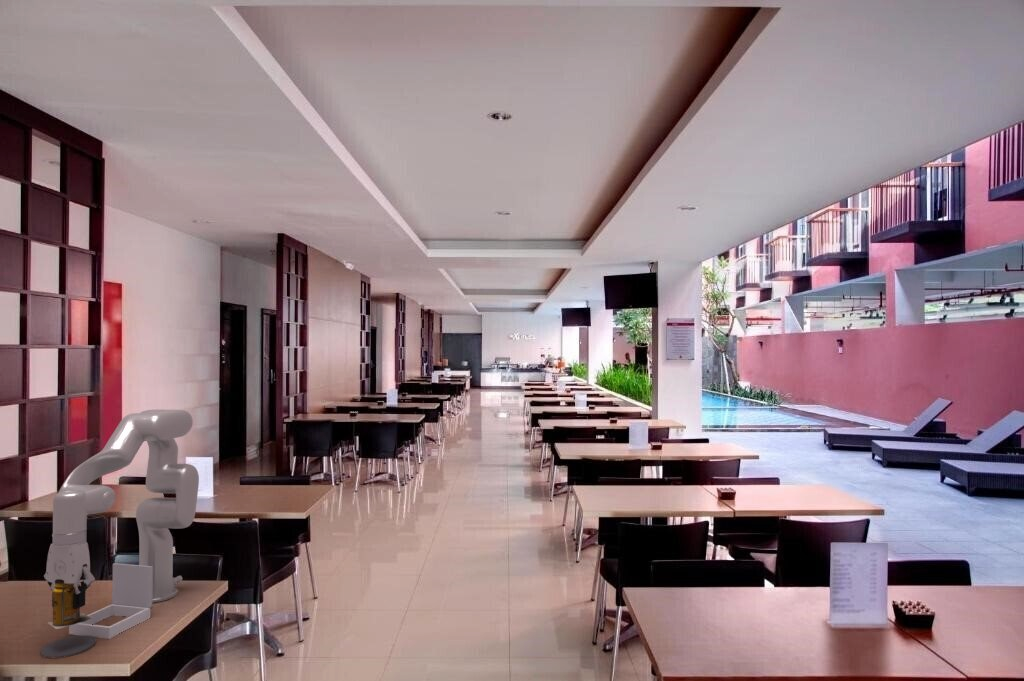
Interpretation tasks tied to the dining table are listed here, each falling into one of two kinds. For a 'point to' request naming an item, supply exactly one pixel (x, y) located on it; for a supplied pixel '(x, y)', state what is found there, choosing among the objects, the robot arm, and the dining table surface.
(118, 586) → the case
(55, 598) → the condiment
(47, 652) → the mat
